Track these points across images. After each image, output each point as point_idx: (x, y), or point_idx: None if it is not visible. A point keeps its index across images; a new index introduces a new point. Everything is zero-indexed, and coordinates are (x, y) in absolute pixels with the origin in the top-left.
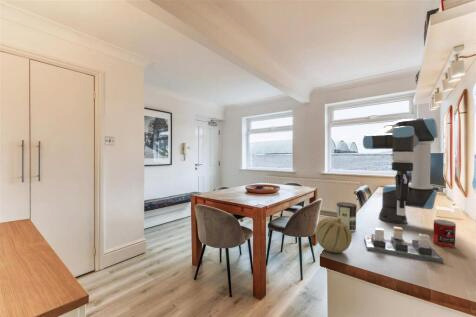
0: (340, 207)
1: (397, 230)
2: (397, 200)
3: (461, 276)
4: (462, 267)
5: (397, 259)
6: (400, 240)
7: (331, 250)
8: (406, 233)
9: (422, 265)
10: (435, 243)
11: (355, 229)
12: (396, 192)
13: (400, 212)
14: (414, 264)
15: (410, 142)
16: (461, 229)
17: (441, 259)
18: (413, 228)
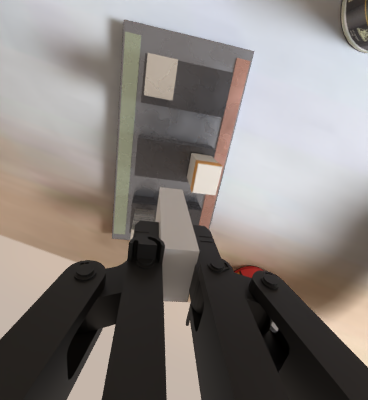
0: None
1: (194, 171)
2: (183, 247)
3: (47, 238)
4: (106, 260)
5: (82, 118)
6: (181, 169)
7: None
8: (322, 228)
9: (70, 177)
10: (246, 267)
11: (355, 44)
12: (293, 323)
13: (158, 210)
14: (66, 157)
15: None
16: (352, 346)
17: (112, 234)
18: (364, 261)
